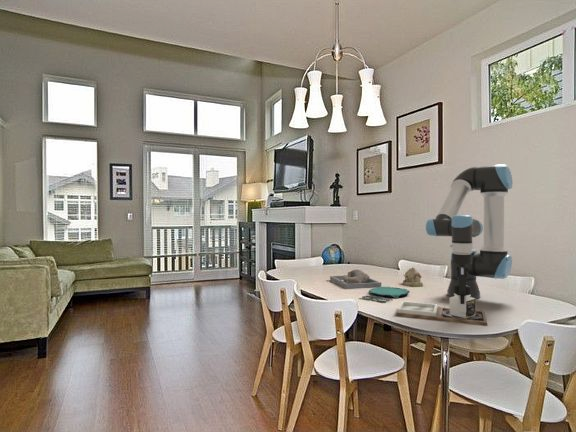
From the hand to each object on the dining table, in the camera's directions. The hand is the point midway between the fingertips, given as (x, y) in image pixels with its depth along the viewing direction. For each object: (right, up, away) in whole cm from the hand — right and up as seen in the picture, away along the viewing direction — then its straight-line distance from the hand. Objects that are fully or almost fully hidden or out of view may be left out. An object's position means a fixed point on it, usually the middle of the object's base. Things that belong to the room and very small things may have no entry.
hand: (462, 308), depth 152 cm
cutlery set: (-21, -4, +40) cm, 45 cm away
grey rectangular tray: (-31, -3, +73) cm, 79 cm away
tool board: (-8, -3, +3) cm, 9 cm away
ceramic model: (+3, -3, +69) cm, 69 cm away
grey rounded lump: (-30, -3, +72) cm, 78 cm away
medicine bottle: (0, -3, 0) cm, 3 cm away
